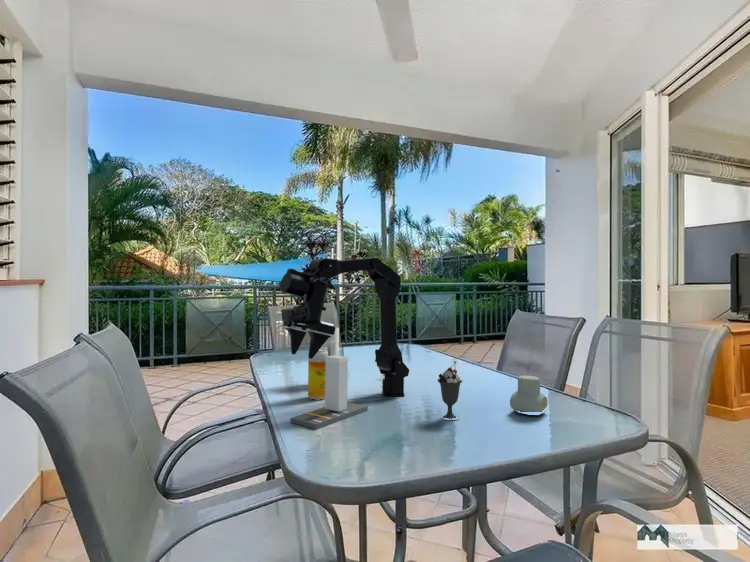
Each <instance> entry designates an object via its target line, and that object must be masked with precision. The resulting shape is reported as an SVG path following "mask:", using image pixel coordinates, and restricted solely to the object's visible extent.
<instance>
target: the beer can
mask: <svg viewBox="0 0 750 562" xmlns="http://www.w3.org/2000/svg"><path fill="white" fill-rule="evenodd" d="M326 356H328V352H327V350H326V349H319V351H318V352H317V353H316V354H315V356H314V357H313V358H312V359H310V358H308V361H307V362H308V363H307V365H308V368H307V369H308V371H307V373H308V375H307V377H308V378H307V380H308V381H307V397H308V398H309V399H310V400H312V399H315V400H314V401H321V400H320V399H323V400H325V368H326V361H325V357H326Z"/></svg>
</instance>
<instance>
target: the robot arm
mask: <svg viewBox="0 0 750 562" xmlns="http://www.w3.org/2000/svg"><path fill="white" fill-rule="evenodd" d="M361 271H362V272H363V271H366V272H367V274H368V277H369V279H370V280H371V281H372V282H373V283H374V289H375V292H376V294H377V295H378V298H379V300H380V335H381V337H380V338H381V344H380V346H379V348H376V349H375V351H374V354H375V359H374V363H376V366H377V368H378V369H379V373H380V374H381V375H384V378H383V379H382V393H383V396H384V397H405V378H407V377H409V373H410V369H409V368H408V366H407V365H406V364H405V362H404V360H403V355H402V354H403V353H402V350H401V349H400V347H399V345H398V340H397V335H398V334H397V308H396V307H397V304H396V301H397V297H398V295H399V293H400V291H401V283H402V281H401V276H400V275H399V274H398V272H396V271H394V269H393V268H391V266H389V265H387V264H385V263H383V261H381V259H380V258H379V257H377V256H372V257H370V256H369V257H365V258H355V259H354V258H353V259H346V260H344V259H343V260H341V259H337V258H327V257H325V258H315V259H312V260H311V261H310V262H309V264H308V267H307V268H305V269H304V270H303V271H302V272H301V271H298V270H296V269H295V268H287V270H286V273H285V274H283V276H282V279H281V280H280V283H279V289H280V292H281V293H284V294H287V295H291V296H294V297H298V298H302V297H304V299H303V301H302V302H301V301H300V302H299V304H298V305H294V306H293V307H289V308H281V321H282V322H283V325H282V326H283V327H284V329H285V330H286V331H287V332H288V334H289V338H290V339H289V340H290V352H291V355H296V354H297V352H298V351H299V348H300V346H301V344H302V343H303V341H304V338H305V337H306V335H307V333H308V335H309V338H310V342H309V346H308V347H309V348H308V358H310V359H312V358H313V357H314V356H315V354H316V353H317V352H318V351H319V349H320V348H321V347H322V345H323V344H324V343H325V342H326V341H327V340H328V338H331V336H329V334H331V335H334V334H335V329H336V328H337V327H336V328H335V324H334V323H330V322H326V321H322V320H321V318H322V314H323V312H326V311H327V307H325V301H326V297H327V292H328V290H330V291H331V290H335V286H334V284H332V281H331V280H325V281H323V280H320V279H331V278H334V277H337V276H339V275H341V274H344V273H352V272H361ZM312 280H314V281H312ZM306 330H307V331H306ZM309 330H310V331H309Z"/></svg>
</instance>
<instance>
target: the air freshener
mask: <svg viewBox="0 0 750 562" xmlns="http://www.w3.org/2000/svg"><path fill="white" fill-rule="evenodd" d="M509 405H510V409H512V410H513V409H514V410H517V411H520V412H542V411H543V410H544V409H545V408H546V407H547V408H548V397H547V396H546V395H545V394H543V393H541V378H539V377H538V376H534V375H519V376H518V377H517V390H516V391H514V392H513V393H512V394H511V396H510V400H509ZM514 410H513V411H514Z"/></svg>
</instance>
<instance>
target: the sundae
mask: <svg viewBox="0 0 750 562" xmlns="http://www.w3.org/2000/svg"><path fill="white" fill-rule="evenodd" d="M455 364H457V361H454V362H453V365H451V366H450V367H448V368H447V369H446V370H444V371H443V373H440V374H438V379H437V382H438V384H439V385H440V393H441V399H442V402H443V403H444V404H445V405H446V406H447V412H446V414H444V416H443V415H442V416H443V418H449V419H450V418H451V419H452V418H456V415H455V414H454V413H453V406H454V405H456V403H457V402H458V399H459V395H460V387H461V384H462V383H463V380H462V379H461V377H460V375H459V374H458V370H457V368H454V369H452V367H453V366H455Z"/></svg>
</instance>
